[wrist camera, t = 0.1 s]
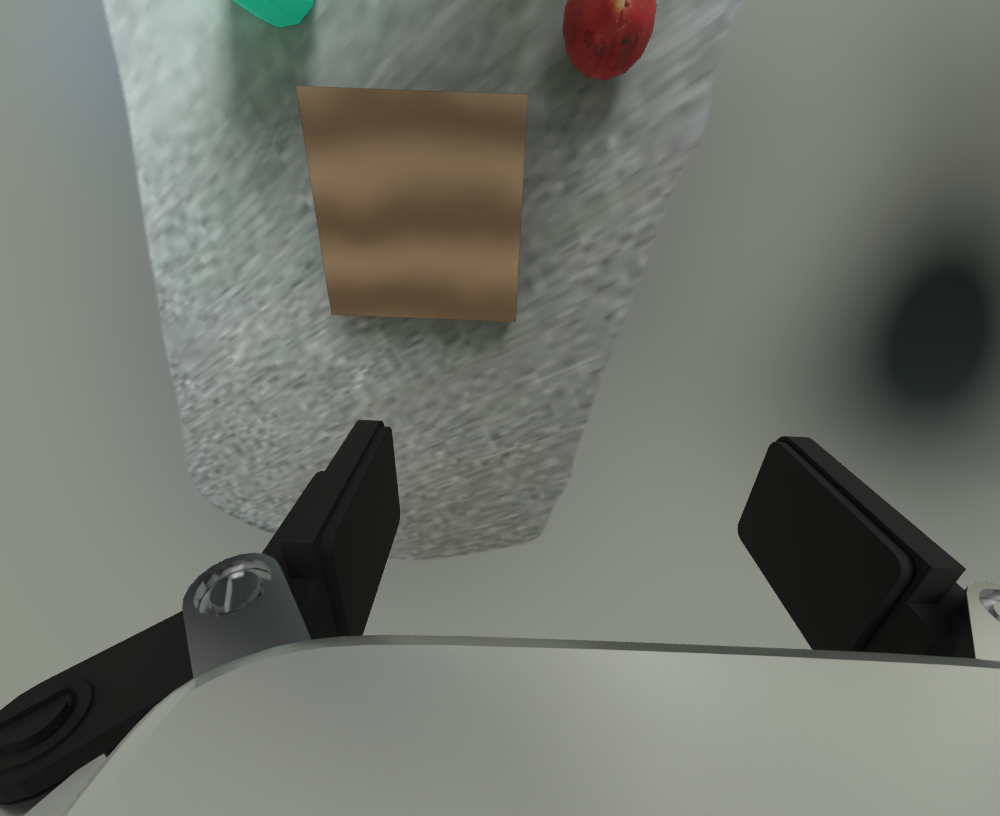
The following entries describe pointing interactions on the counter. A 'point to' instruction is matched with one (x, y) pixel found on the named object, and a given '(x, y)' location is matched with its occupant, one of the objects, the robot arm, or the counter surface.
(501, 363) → the counter surface
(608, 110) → the counter surface
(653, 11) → the onion
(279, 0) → the candle
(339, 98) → the walnut base
